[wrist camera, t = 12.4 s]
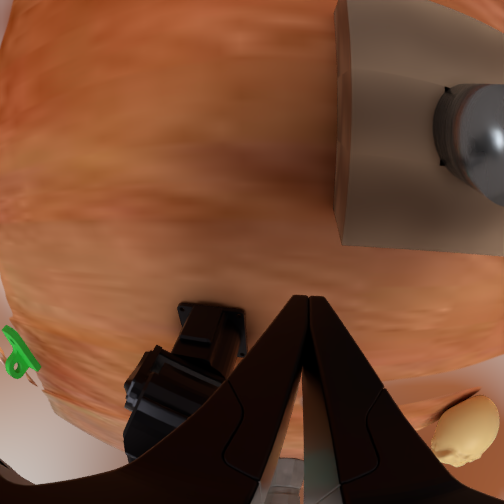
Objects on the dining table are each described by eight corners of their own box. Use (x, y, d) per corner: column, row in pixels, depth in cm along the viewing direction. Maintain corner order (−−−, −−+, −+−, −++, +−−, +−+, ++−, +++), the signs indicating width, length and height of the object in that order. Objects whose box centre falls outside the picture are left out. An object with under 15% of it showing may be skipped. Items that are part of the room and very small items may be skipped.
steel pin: (461, 167, 15) (534, 213, 8) (398, 155, 16) (459, 198, 9) (467, 95, 12) (548, 107, 5) (401, 77, 13) (469, 67, 6)
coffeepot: (253, 455, 47) (237, 528, 31) (294, 453, 43) (282, 533, 28) (285, 473, 52) (275, 533, 37) (321, 470, 48) (314, 535, 33)
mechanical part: (41, 366, 49) (26, 388, 42) (29, 359, 50) (13, 380, 43) (17, 331, 43) (-2, 354, 36) (6, 324, 44) (-13, 346, 37)
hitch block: (486, 224, 17) (521, 257, 12) (333, 208, 19) (341, 245, 14) (502, 61, 10) (545, 61, 5) (333, 13, 12) (344, -18, 8)
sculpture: (416, 422, 33) (423, 478, 24) (473, 382, 27) (490, 443, 17) (450, 426, 34) (457, 473, 25) (499, 391, 27) (514, 441, 18)
